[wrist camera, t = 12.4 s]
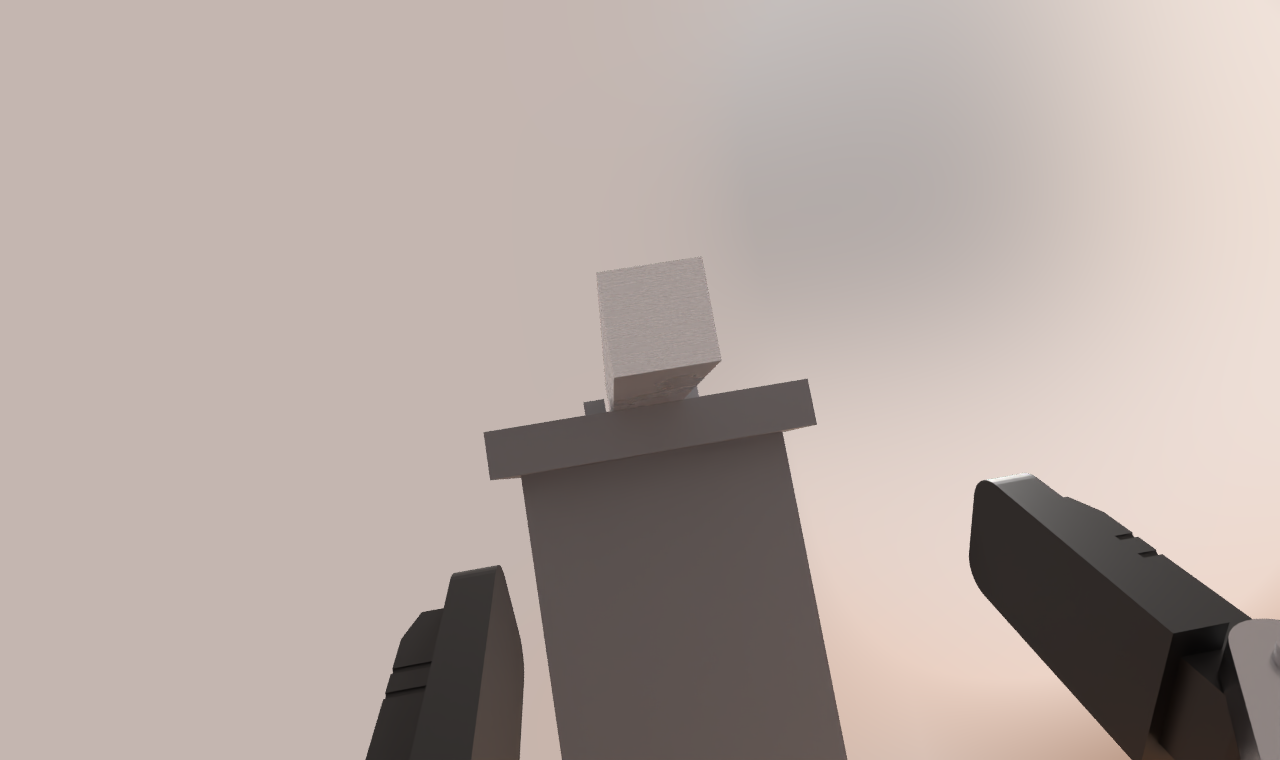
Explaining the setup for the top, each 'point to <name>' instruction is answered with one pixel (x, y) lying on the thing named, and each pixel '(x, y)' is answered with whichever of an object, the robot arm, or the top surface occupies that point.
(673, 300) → the steel bar
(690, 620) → the stand
